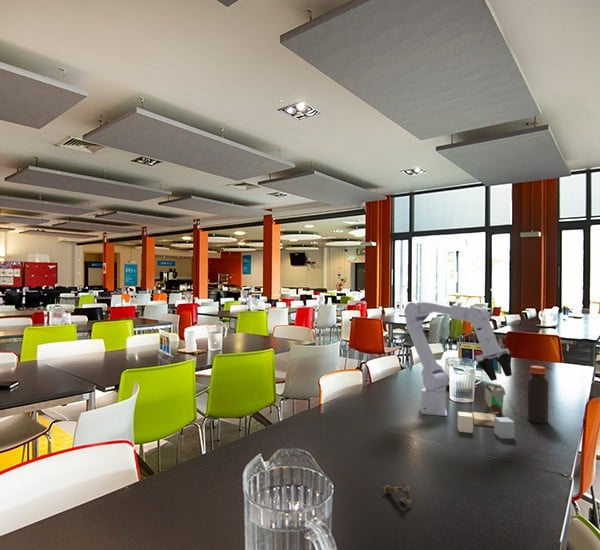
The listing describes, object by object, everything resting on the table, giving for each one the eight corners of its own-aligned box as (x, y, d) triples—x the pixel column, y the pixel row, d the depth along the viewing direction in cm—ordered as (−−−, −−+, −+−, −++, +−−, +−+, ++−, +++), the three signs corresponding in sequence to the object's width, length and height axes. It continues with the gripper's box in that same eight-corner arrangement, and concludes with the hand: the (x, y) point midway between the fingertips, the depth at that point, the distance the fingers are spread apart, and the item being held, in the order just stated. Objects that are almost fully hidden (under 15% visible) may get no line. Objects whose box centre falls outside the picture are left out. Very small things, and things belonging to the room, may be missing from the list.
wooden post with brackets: (411, 507, 94) (405, 485, 96) (388, 506, 100) (383, 485, 102) (416, 504, 95) (410, 483, 96) (393, 504, 101) (388, 483, 103)
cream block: (458, 431, 144) (458, 415, 144) (457, 427, 148) (457, 411, 148) (472, 433, 142) (472, 416, 142) (471, 428, 147) (471, 412, 147)
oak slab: (474, 425, 151) (474, 418, 151) (472, 418, 158) (472, 412, 159) (499, 428, 149) (499, 420, 149) (495, 420, 156) (495, 414, 156)
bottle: (547, 419, 157) (547, 366, 157) (549, 425, 151) (549, 369, 151) (526, 416, 160) (526, 364, 160) (527, 422, 154) (528, 367, 154)
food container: (509, 418, 158) (509, 391, 158) (492, 417, 159) (492, 390, 159) (500, 408, 170) (500, 383, 170) (484, 407, 171) (484, 382, 171)
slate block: (500, 438, 138) (500, 421, 138) (494, 433, 142) (494, 417, 142) (514, 438, 138) (514, 421, 138) (507, 433, 142) (507, 417, 142)
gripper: (481, 340, 142) (496, 380, 138) (510, 334, 149) (525, 372, 145) (466, 345, 148) (480, 383, 144) (494, 338, 155) (508, 375, 151)
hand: (501, 378), depth 145 cm, fingers open, 7 cm apart
